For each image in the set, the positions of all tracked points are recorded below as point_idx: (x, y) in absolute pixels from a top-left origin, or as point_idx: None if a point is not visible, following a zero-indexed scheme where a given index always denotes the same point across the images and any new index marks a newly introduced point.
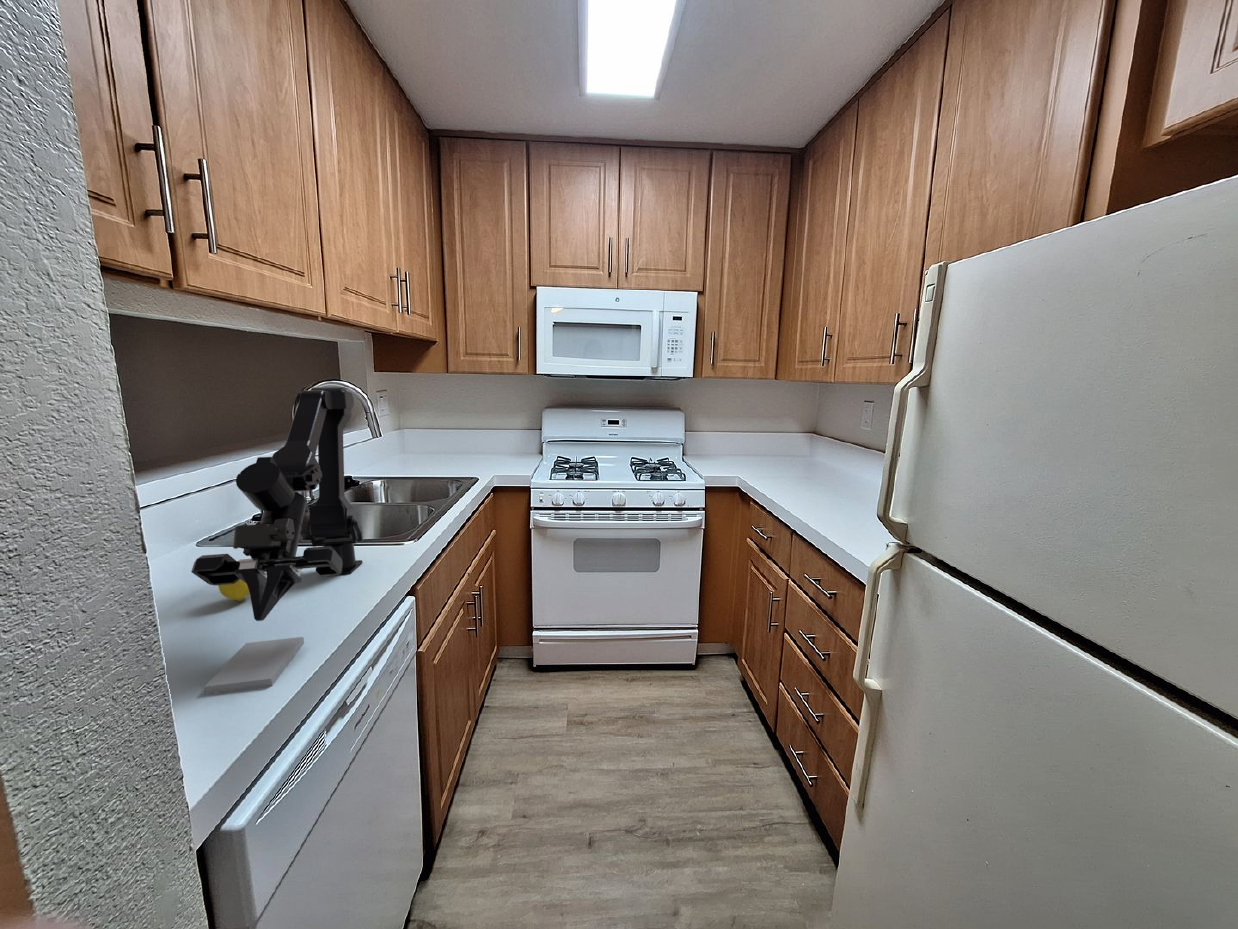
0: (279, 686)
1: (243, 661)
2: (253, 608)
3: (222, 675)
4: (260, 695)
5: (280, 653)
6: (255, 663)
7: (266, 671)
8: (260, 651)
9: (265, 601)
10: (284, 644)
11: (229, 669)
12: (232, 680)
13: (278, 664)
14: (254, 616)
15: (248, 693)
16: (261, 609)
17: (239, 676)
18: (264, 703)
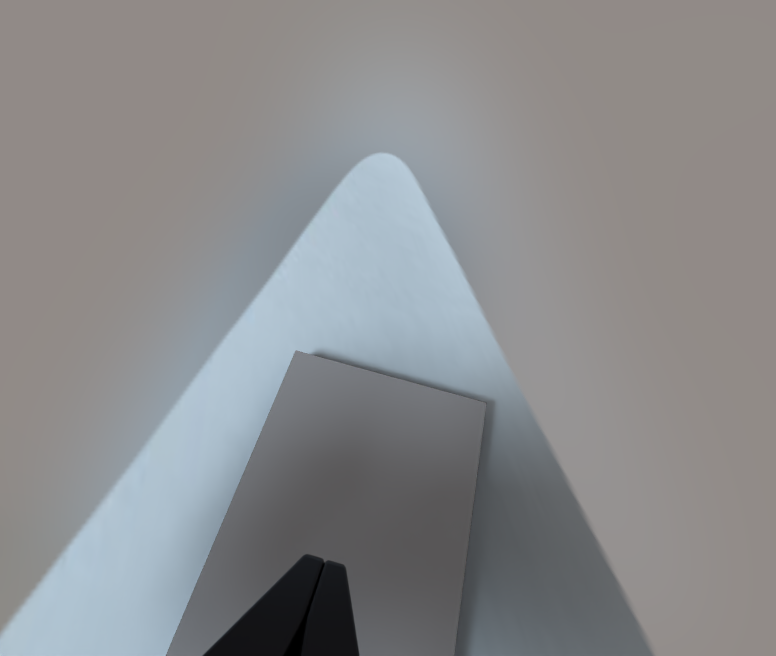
0: (279, 349)
1: (403, 537)
2: (348, 635)
3: (451, 452)
4: (326, 329)
5: (264, 534)
6: (354, 488)
7: (311, 402)
8: None
9: (232, 654)
10: None
11: (440, 490)
12: (410, 399)
13: (274, 436)
14: (343, 576)
15: (359, 355)
16: (286, 600)
17: (393, 412)
18: (314, 289)
